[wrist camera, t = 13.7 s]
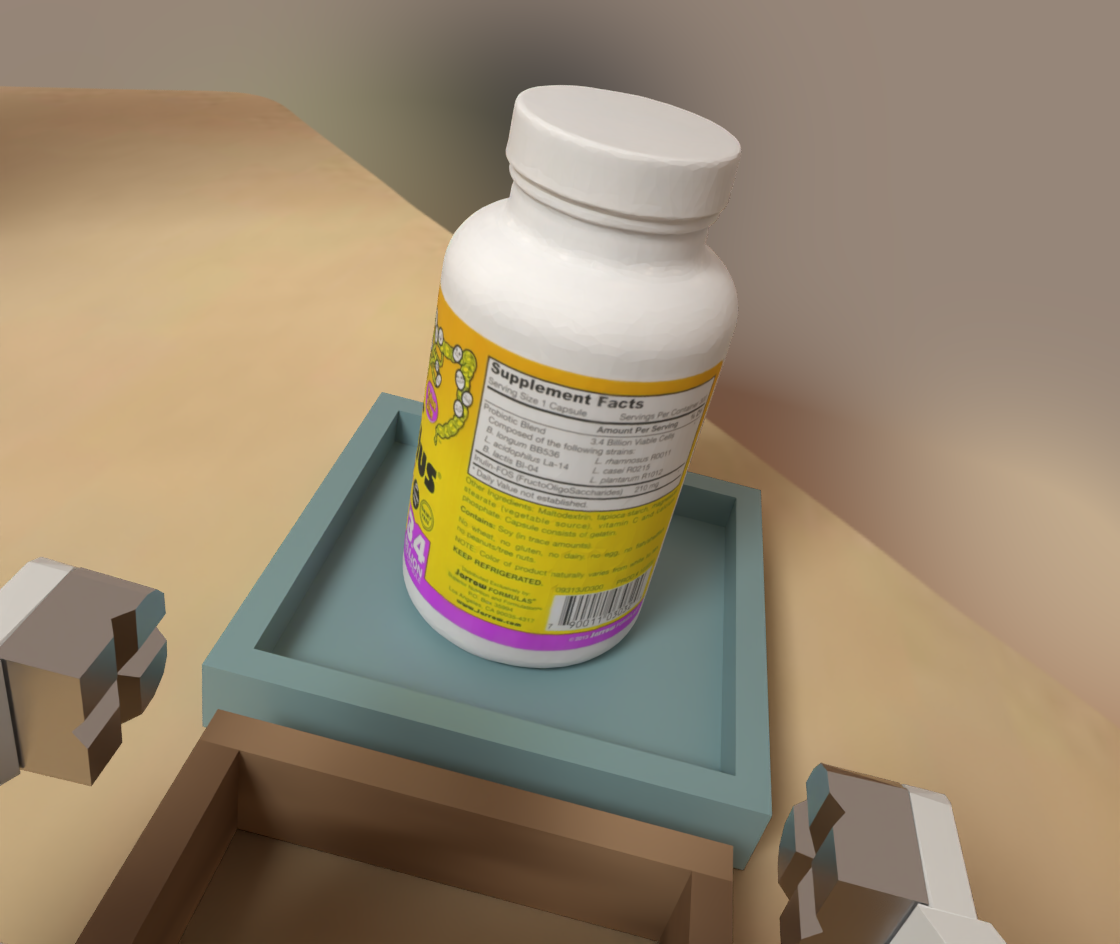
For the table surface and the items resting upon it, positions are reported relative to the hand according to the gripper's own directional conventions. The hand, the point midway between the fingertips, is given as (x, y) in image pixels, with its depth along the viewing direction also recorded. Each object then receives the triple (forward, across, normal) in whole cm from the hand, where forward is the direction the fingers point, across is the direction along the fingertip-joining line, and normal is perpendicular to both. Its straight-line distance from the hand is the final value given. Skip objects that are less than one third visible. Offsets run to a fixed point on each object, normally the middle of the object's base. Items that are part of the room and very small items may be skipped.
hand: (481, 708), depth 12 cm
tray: (+12, 0, +9) cm, 15 cm away
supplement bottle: (+12, 0, +9) cm, 15 cm away
